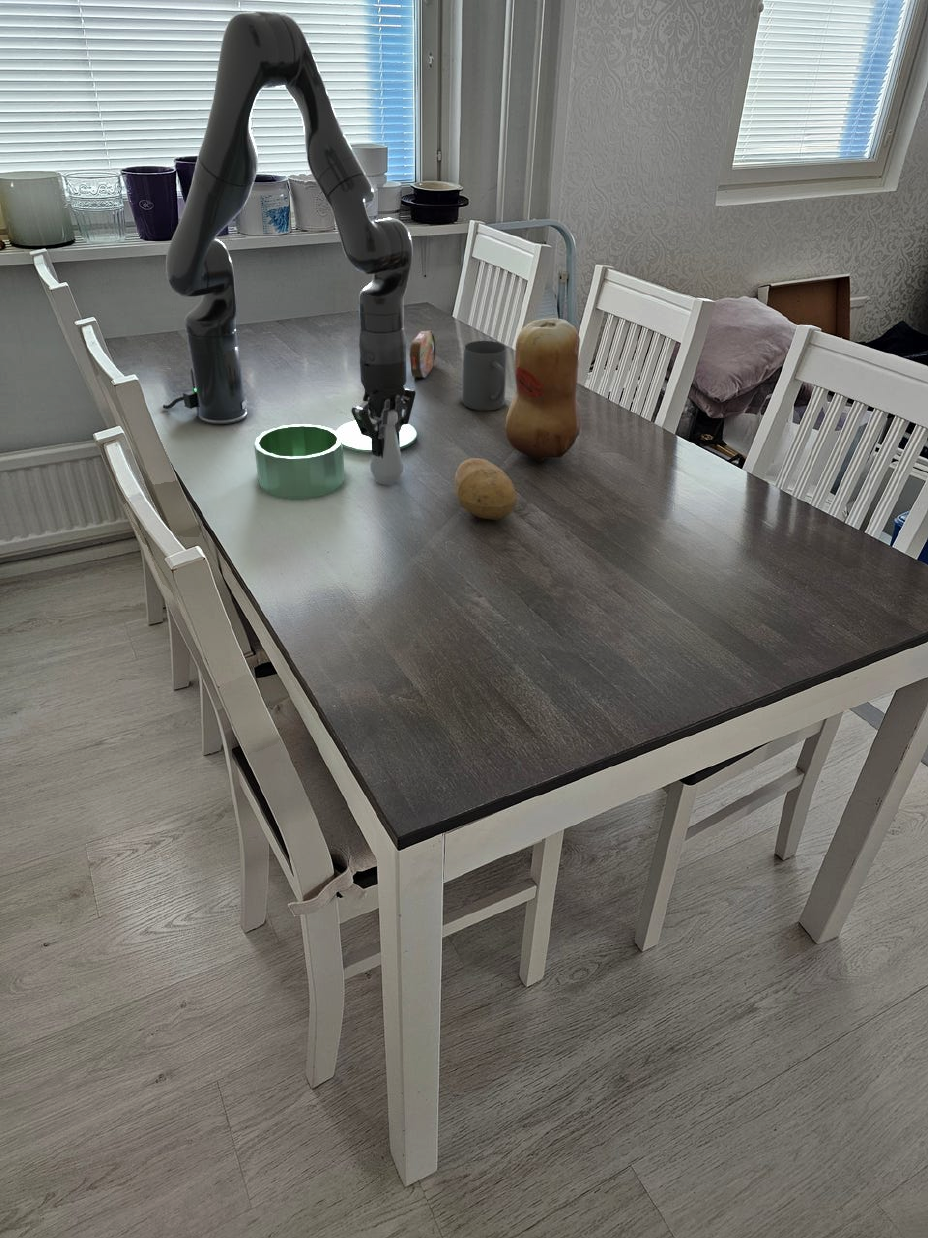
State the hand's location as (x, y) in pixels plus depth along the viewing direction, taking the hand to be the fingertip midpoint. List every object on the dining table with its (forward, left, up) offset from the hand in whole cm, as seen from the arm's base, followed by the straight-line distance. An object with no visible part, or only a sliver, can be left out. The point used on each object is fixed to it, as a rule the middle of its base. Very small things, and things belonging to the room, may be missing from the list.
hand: (386, 453), depth 148 cm
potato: (+21, +1, -5) cm, 22 cm away
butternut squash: (+15, +26, -5) cm, 31 cm away
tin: (-33, +48, -5) cm, 59 cm away
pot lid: (-14, +12, -4) cm, 19 cm away
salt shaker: (0, 0, -5) cm, 5 cm away
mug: (-8, +40, -5) cm, 41 cm away
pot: (-11, -10, -5) cm, 16 cm away
